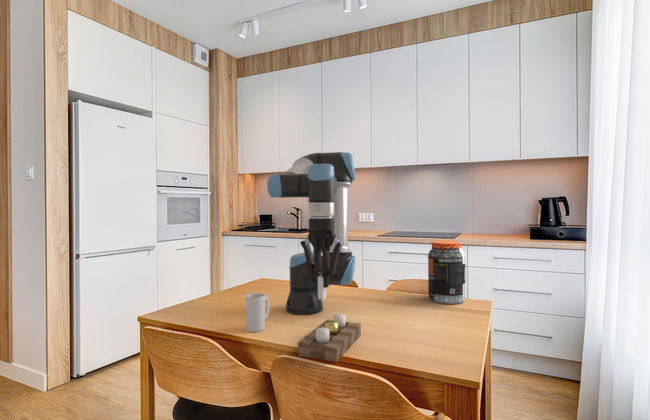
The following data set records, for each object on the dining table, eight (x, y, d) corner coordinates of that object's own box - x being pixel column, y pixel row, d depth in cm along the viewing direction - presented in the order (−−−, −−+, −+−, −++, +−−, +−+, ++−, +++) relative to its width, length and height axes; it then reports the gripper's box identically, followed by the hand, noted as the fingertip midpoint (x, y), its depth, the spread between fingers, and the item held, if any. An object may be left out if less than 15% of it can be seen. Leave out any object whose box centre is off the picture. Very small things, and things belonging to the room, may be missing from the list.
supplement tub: (473, 301, 166) (473, 242, 166) (450, 307, 158) (450, 244, 157) (443, 293, 180) (443, 239, 179) (420, 299, 171) (420, 241, 170)
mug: (254, 334, 128) (254, 298, 128) (241, 330, 132) (241, 295, 132) (276, 326, 136) (275, 292, 136) (263, 322, 140) (262, 290, 140)
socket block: (336, 362, 105) (336, 347, 105) (298, 355, 110) (298, 341, 110) (360, 335, 126) (360, 323, 126) (327, 330, 130) (327, 319, 130)
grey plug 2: (331, 329, 123) (331, 317, 123) (336, 325, 127) (335, 313, 127) (343, 330, 122) (343, 318, 122) (347, 327, 125) (347, 315, 125)
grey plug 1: (313, 344, 110) (313, 331, 110) (319, 340, 114) (319, 326, 114) (326, 346, 109) (326, 332, 109) (331, 341, 112) (331, 328, 112)
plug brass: (323, 336, 117) (322, 323, 117) (328, 332, 120) (327, 319, 120) (335, 338, 115) (335, 325, 115) (339, 334, 119) (339, 321, 119)
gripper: (295, 217, 109) (296, 299, 110) (337, 218, 104) (338, 303, 105) (306, 216, 116) (307, 293, 117) (347, 217, 111) (347, 297, 112)
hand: (322, 298), depth 111 cm, fingers closed
